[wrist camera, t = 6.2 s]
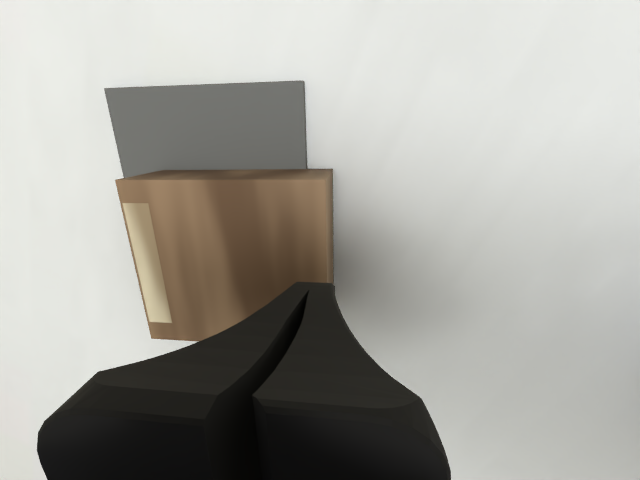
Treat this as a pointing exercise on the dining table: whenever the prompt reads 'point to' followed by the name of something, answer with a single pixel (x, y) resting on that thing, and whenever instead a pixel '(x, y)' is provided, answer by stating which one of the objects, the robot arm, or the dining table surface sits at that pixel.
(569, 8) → the dining table surface
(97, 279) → the dining table surface
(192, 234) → the walnut slab
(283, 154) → the rubber mat
